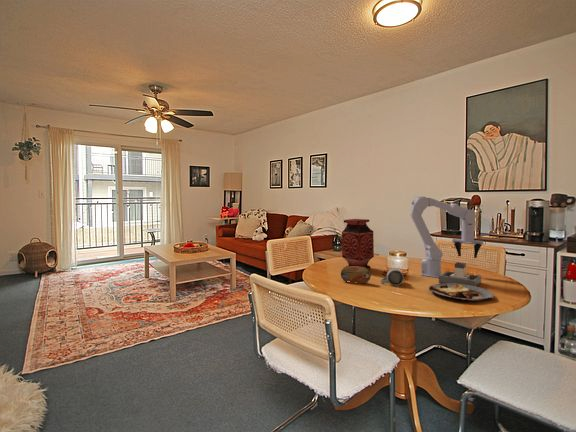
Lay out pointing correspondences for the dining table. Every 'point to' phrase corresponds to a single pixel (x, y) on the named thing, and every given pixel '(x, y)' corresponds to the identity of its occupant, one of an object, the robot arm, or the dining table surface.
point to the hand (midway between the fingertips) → (467, 257)
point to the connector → (460, 269)
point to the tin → (355, 274)
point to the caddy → (459, 279)
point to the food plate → (461, 291)
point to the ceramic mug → (393, 277)
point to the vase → (357, 243)
